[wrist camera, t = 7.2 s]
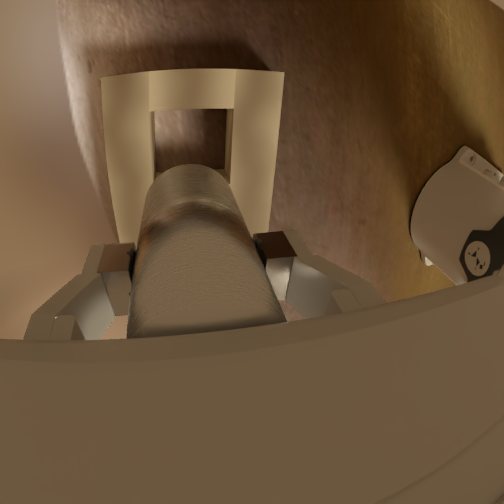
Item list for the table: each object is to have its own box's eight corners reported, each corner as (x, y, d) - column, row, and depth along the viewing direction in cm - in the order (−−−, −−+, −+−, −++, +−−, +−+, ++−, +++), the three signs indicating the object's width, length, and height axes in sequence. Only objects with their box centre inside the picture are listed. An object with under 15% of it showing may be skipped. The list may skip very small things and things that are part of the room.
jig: (271, 71, 21) (284, 72, 18) (255, 249, 31) (263, 270, 29) (112, 75, 18) (100, 77, 16) (132, 258, 29) (128, 280, 26)
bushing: (235, 162, 12) (308, 293, 6) (232, 241, 14) (281, 389, 8) (140, 167, 11) (103, 312, 5) (150, 247, 14) (146, 405, 7)
